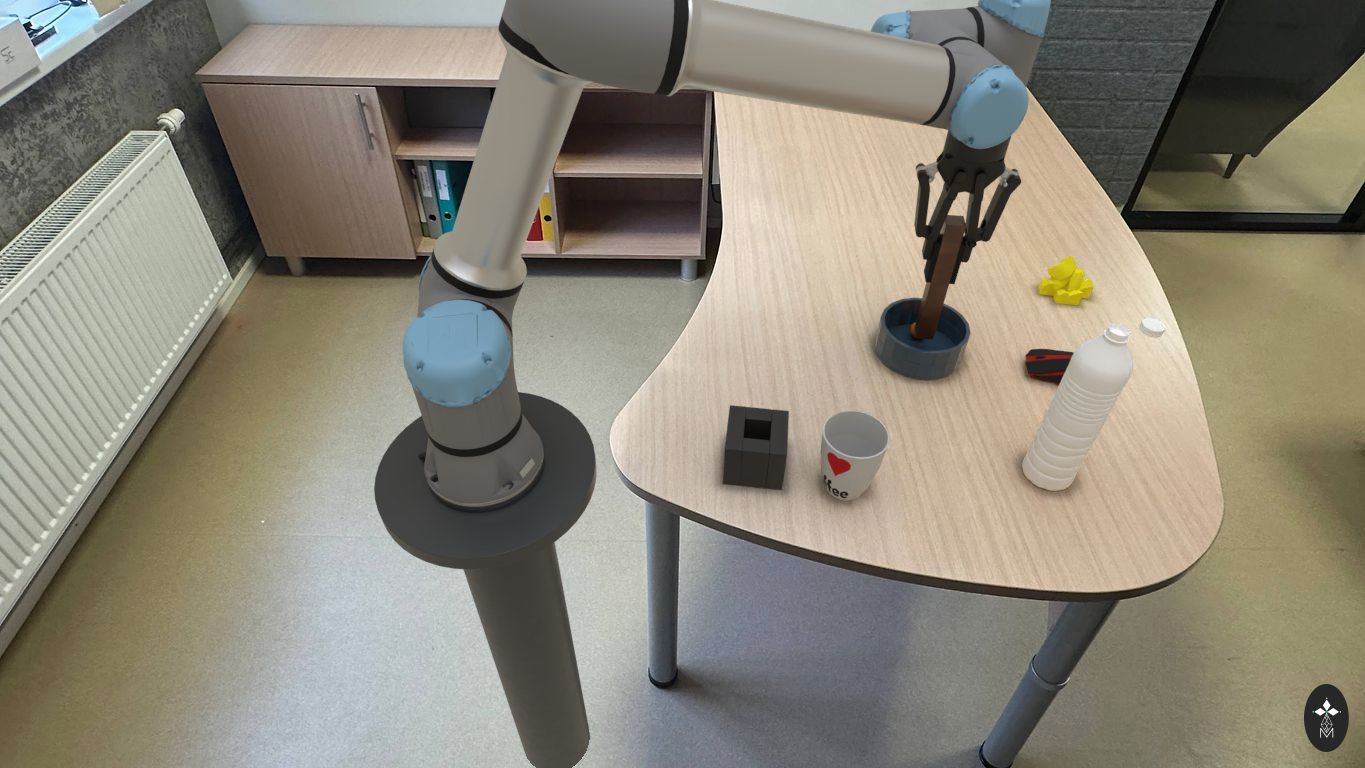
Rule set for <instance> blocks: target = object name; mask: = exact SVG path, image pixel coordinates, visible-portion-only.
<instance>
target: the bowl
mask: <svg viewBox="0 0 1365 768" xmlns="http://www.w3.org/2000/svg"><path fill="white" fill-rule="evenodd" d="M921 301H922V297H907V298H902V299H898V300H896V301H893V302H891V303H889V304H888V305H887V306H886V307H885V308H883V311H882V312H881V314H880V318H879V323H878V327H877V331H876V335H875V341H874V350H875V354H876V356H877V358H878V360H880V362H881V363H882V364H883V365H884V366H885V367H886V368H887V369H889V370H890V371H892V372H894V373H896V374H897V375H900V376H902V377H905V378H909V379H913V380H917V381H936V380H942V379H945V378H948V377H949V376H951V375H952V374H954V373H955V372H957V370H958V368H960V366H961V363H962V360H963V357H964V354H965V351H966V349H967V345H968V343H969V339H970V336H971V328H970V324H969V322H968V320H967V319H966V318H965V317H964V315H963V314H962V313H961V312H959V311H958V310H957V309H956V308H955V307H952V306H950V305H948V304H947V303H944V304H943V307H942V311H941V314H940V317H939V321H938V324H937V328H936V331H935V335H934V338H933V339H921V338H915V337H913V336H912V335H911V333H910V327H911V325H912V324H913V323H915V322H916V319H917V316H918V312H919V308H920V304H921Z"/></svg>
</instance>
